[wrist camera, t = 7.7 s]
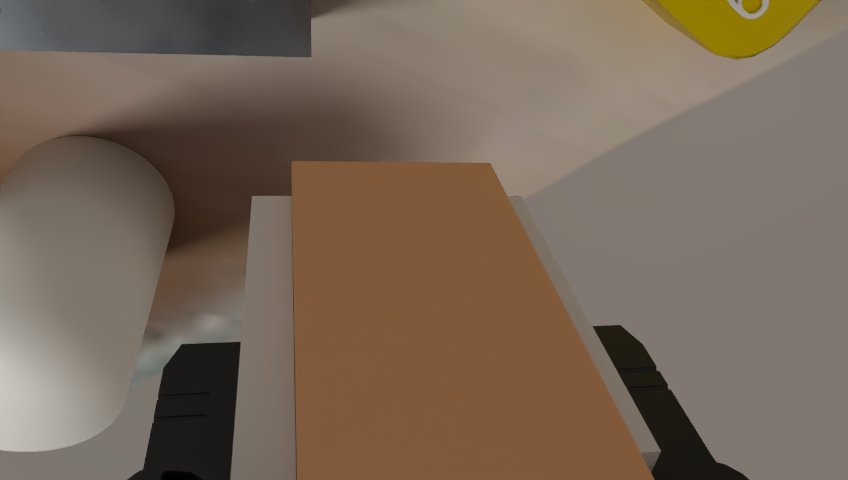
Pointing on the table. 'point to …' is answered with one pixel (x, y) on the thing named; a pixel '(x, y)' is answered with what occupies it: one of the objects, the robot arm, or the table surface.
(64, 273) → the round peg
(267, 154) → the table surface
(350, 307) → the square peg
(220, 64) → the table surface
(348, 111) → the table surface
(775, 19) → the element tile
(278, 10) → the bore block
